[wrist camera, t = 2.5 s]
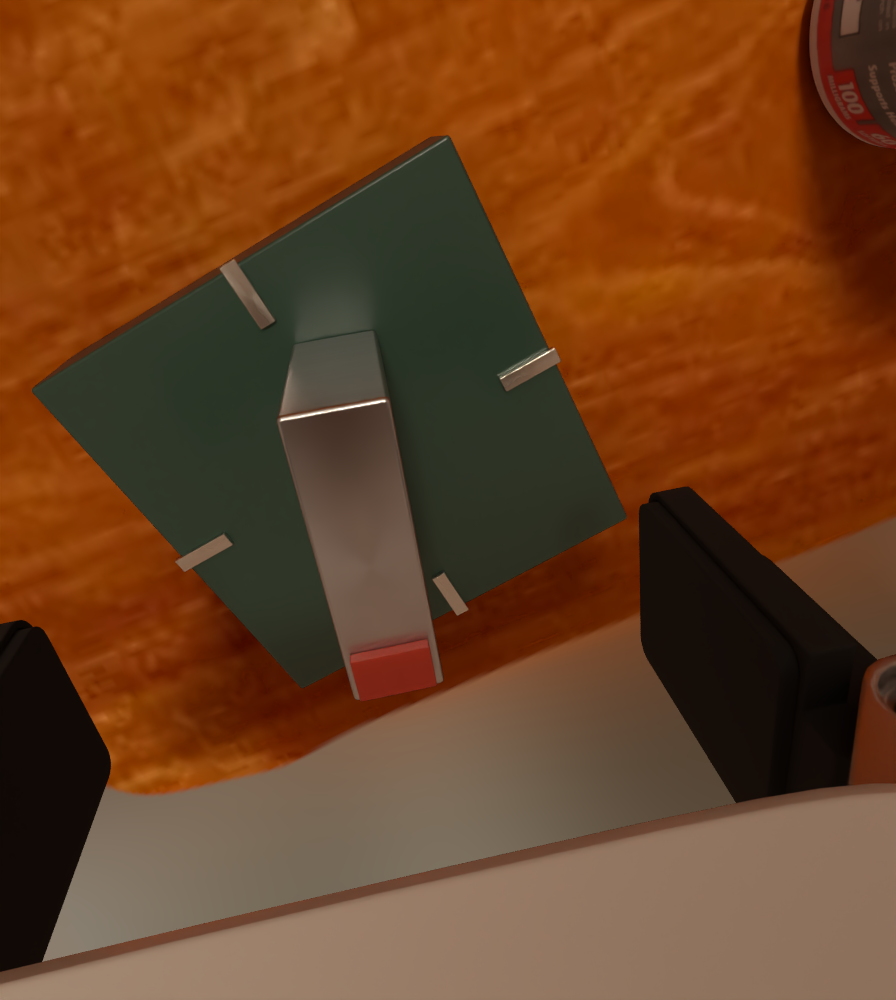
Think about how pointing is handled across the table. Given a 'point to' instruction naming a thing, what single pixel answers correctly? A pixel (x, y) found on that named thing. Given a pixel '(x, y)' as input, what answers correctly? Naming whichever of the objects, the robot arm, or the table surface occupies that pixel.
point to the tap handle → (359, 513)
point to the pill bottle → (857, 65)
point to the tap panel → (412, 390)
